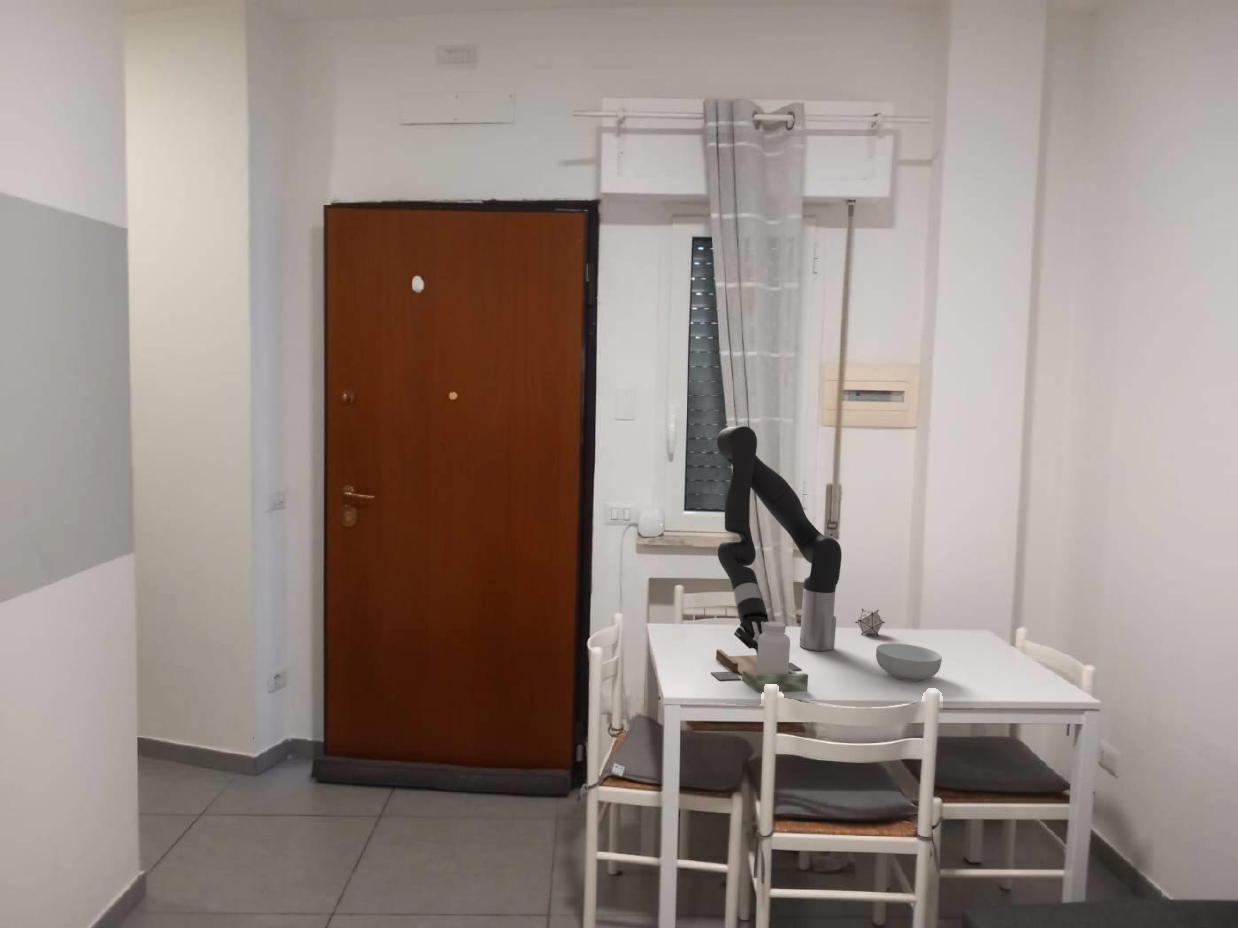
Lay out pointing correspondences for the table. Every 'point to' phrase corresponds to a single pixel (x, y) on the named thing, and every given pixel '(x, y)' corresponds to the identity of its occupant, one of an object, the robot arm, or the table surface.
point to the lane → (749, 671)
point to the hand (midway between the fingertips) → (765, 661)
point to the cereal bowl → (908, 661)
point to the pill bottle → (773, 650)
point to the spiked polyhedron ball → (870, 622)
